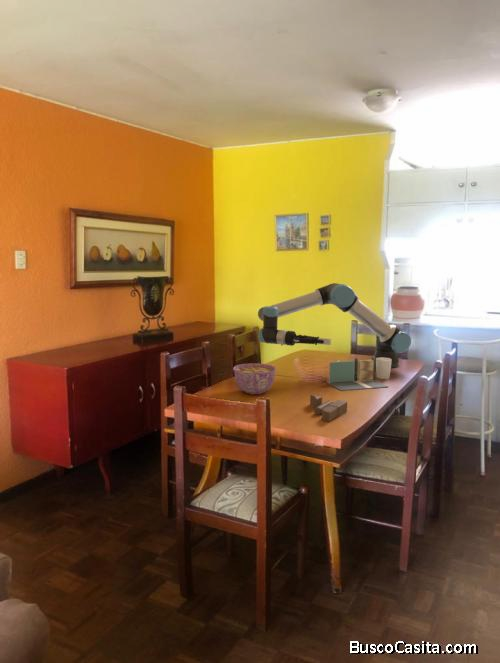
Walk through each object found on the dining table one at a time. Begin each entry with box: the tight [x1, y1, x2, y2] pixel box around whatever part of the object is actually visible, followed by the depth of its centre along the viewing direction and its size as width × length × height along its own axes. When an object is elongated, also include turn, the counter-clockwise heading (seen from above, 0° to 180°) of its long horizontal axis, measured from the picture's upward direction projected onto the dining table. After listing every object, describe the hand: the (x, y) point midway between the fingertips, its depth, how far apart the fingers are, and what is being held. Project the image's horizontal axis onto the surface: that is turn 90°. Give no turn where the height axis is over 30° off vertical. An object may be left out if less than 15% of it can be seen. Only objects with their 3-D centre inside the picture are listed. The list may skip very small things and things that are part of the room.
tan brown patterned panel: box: [354, 356, 376, 381], centre depth 263 cm, size 11×2×12 cm, turn 107°
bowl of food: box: [232, 363, 277, 395], centre depth 241 cm, size 20×20×12 cm
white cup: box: [375, 357, 392, 380], centre depth 271 cm, size 8×8×10 cm
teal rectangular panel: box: [328, 360, 355, 382], centre depth 259 cm, size 13×2×10 cm, turn 107°
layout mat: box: [327, 377, 389, 392], centre depth 258 cm, size 25×20×1 cm
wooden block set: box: [309, 394, 348, 423], centre depth 211 cm, size 17×6×18 cm
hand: (330, 342), depth 259 cm, fingers closed
